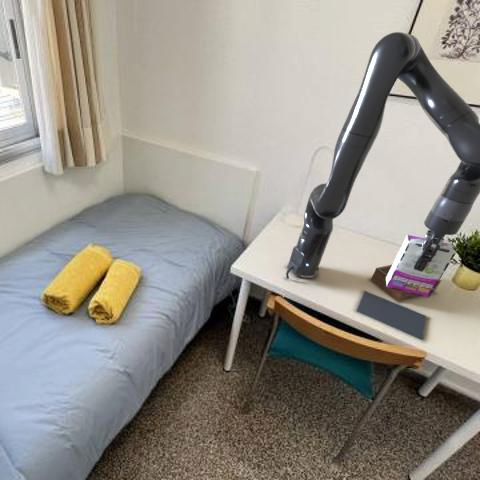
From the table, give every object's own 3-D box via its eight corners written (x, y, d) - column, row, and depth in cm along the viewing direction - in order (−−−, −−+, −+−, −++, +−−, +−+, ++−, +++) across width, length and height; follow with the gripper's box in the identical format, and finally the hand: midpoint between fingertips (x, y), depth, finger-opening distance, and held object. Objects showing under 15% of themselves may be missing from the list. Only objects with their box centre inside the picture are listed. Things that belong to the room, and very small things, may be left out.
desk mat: (421, 339, 102) (422, 338, 102) (356, 311, 111) (356, 310, 110) (425, 316, 110) (426, 315, 110) (364, 291, 119) (364, 290, 119)
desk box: (397, 301, 115) (405, 289, 112) (370, 279, 124) (376, 267, 121) (433, 292, 120) (441, 280, 117) (404, 272, 129) (411, 260, 126)
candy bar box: (425, 288, 105) (453, 243, 96) (428, 298, 101) (457, 253, 92) (384, 277, 108) (407, 233, 99) (385, 287, 104) (409, 242, 95)
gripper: (433, 199, 97) (407, 248, 106) (429, 218, 87) (400, 271, 97) (466, 207, 93) (436, 258, 103) (465, 228, 84) (432, 282, 93)
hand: (419, 264), depth 100 cm, fingers closed on candy bar box, 5 cm apart
